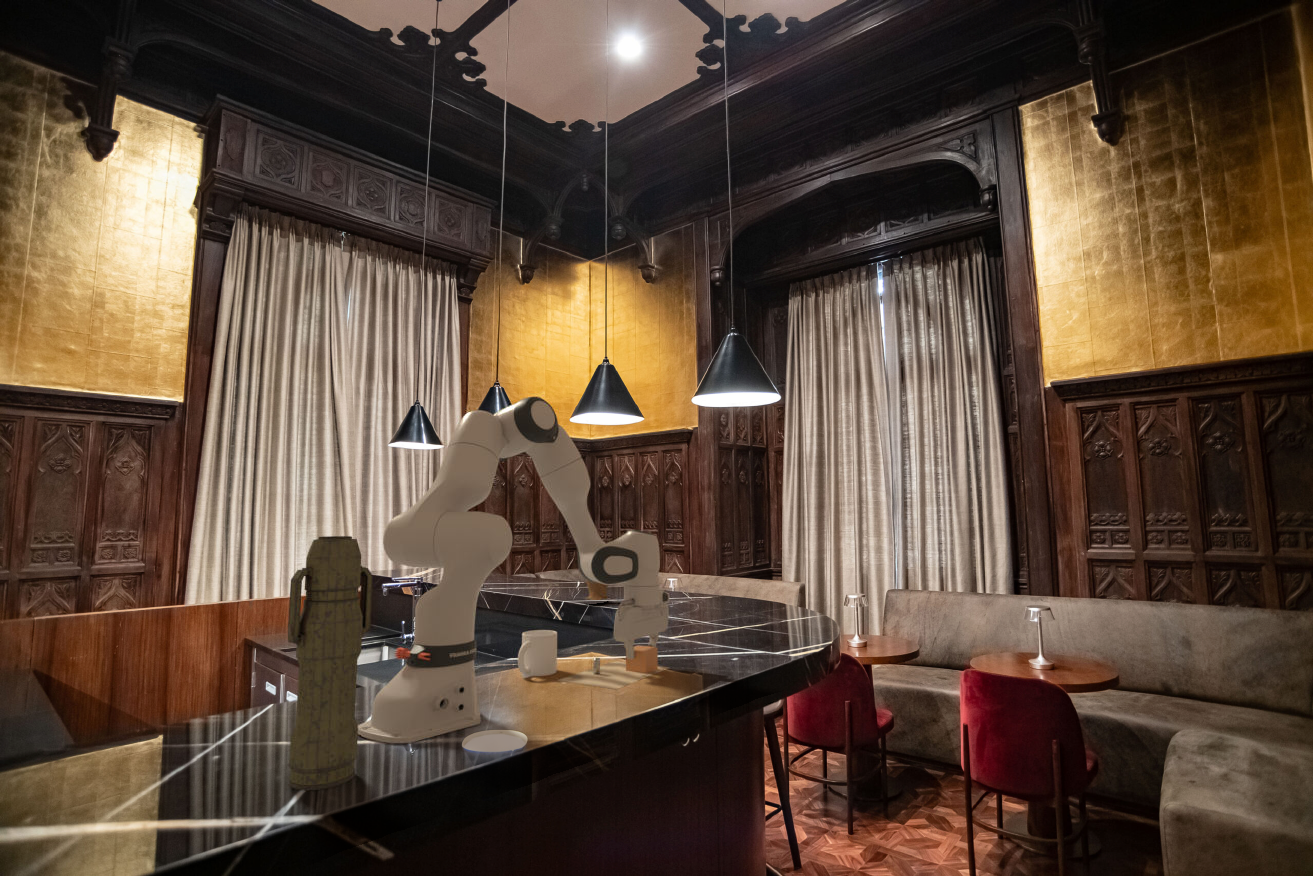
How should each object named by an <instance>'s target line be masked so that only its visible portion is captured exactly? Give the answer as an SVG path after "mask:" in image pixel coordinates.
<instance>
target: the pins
mask: <svg viewBox="0 0 1313 876" xmlns="http://www.w3.org/2000/svg"><path fill="white" fill-rule="evenodd" d="M592 662H593V663H592V669H593V674H600V666H601V657H593V661H592Z"/></svg>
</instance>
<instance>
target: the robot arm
mask: <svg viewBox="0 0 1313 876" xmlns="http://www.w3.org/2000/svg"><path fill="white" fill-rule="evenodd" d="M523 453H525V454H527V455H528V456H529V458H531V460H532V461H533V464H534V465H533V466H534V468H535V469H536V472H537V474H538V476H539V479H540V480H541V483H542V485H543V486H544V488H545V490H546V491H547V493H548V495H549V496H550V498H551V500H552V501H553V503H554V504H555V505H556V507H557V509H558V510H559V512H560V513H561V515H562V518H563V519H564V522H565V524H566V525H567V529H568V530H569V533H570V535H571V537H572V540H573V541H574V544H575V547H576V554H577V555H576V556H577V567H578V571H579V572H580V574H581V576H582V577H583V578H584V579H585V581H586V580H588V581H590V582H593V583H601V584H605V585H608V586H611V585H616V584H618V583H623V600H622V601H620V604H619V605H618V606H617V610H616V611H615V615H614V625H613V638H614V640H615V641H616V642H623V646H624V648H625V652H626V651H627V659H634V658H636V651H634V645H635V640H638V639H642V638H644V637H648V638H649V642H648V644H646V646H649V647H657V644H658V641H659V636H660V633H662V632H666V631H667V629H668V626H669V613H670V611H669V609H670V608H669V604H668V603H669V602H670V593H668V592H667V591H664V590H663V589H662V588H661V583H660V577H659V571H660V567H661V560H660V559H661V557H660V555H661V554H660V546H659V544H660V543H659V540H658V537H657V536H656V535H655V534H654V533H652V532H649V531H644V530H637V529H630V530H627V532H626V533H625V534H623V535H621V536H620V537H618V538H616V539H614V540H612V541H609V542H607V543H606V542H605V541H604V540H603V539H602V538H601V536H600V534H599V533H598V530H597V528H596V525H595V523H594V521H593V519H592V516H591V514H590V511H589V508H588V495H589V491H590V489H591V480H590V475H589V472H588V469H587V467H586V464H585V462H584V460H583V458H582V454H581V453H580V451H579V449H578V448H577V446H576V444H575V443H574V441H573V440H572V438H571V437H570V434H568V432H567V430H565V428H564V427H563V426H561V424H559V422H558V416H557V414H556V412H555V410H554V407H552V405H551V404H550V403H549V402H547V401H546V400H545V399H543V398H541V397H540V396H529V397H524V398H522V399H520V400H518V402H515V403H513V404H510V405H507V407H503V408H502V409H500V410H497V412H495V413H494V414H493V413H491V412H489V411H486V410H480V409H479V410H478V409H477V410H471V411H469V412H467V413H466V414H463V417H461V419H460V420H459V422H458V424H457V425H456V427H455V429H454V431H453V433H452V435H451V437H450V439H449V442H448V444H447V448H446V451H445V454H444V457H443V460H442V462H441V464H440V467H439V470H438V472H437V475H436V477H435V480H434V481H433V483H432V485H430V487H429V488H428V490H427V491H426V492H425V493H424V495H422V496H421V498H420V499H419V500H418V501H417V502H416V503H414V504H413V505H412V506H411V507H409V508H408V509H407V510H404V511H403V512H402V513H400V514H398V515H396V516H394V517H393V518H392V519H391V520H390V521H389V522H388V524H387V526H386V528H385V529H384V533H383V537H382V543H383V549H384V552H385V555H386V556H387V557H388V559H389V560H390V561H391V562H393V563H395V564H399V565H403V566H406V567H411V568H422V569H423V568H425V569H426V568H427V569H428V568H429V569H430V568H432V569H435V568H436V569H437V568H438V569H439V568H440V569H443V573H442V577H441V580H440V582H439V583H438V585H437V586H435V587H433V588H431V589H429V590H427V591H426V592H424V593H423V594H422V595H421V596H420V597H419V599H418V601H417V602H416V605H415V611H414V612H415V613H414V615H415V616H414V617H415V619H414V639H413V642H412V643H411V645H410V648H408V647H406V648H404V647H397V648H396V650H395V651H394V657H395V658H396V659H399V660H405V661H404V663H405V664H404V666H403V668H402V669H401V670H399V672H397V674H395V676H394V677H392V679H391V680H390V681H388V683H387V684H386V685H385V686H384V687H383V688H381V690H380V691H378V692H377V694H376V696H375V698H374V700H373V705H372V711H371V715H370V720H368V721H365V722H363V723H360V724H357V725H358V736H360V735H361V737H363V738H366V739H369V740H372V741H377V742H381V743H382V742H384V743H393V744H409V743H414V742H417V741H421V740H426V739H429V738H433V737H436V736H440V735H444V734H447V733H451V732H454V731H458V730H462V729H465V728H470V727H473V726H477V725H480V724H481V723H482V719H481V714H482V713H481V708H480V705H479V699H478V688H477V678H476V672H475V659H476V658H477V648H478V647H477V640H476V638H475V627H476V626H475V624H476V611H477V610H476V609H477V604H478V603H477V602H478V598H479V596H480V595H479V594H480V591H481V589H482V588H483V584H484V583H485V581H486V579H487V578H488V577H489V576H490V574H491V573H492V572H493V571H494V570H495V569H496V568H497V567H498V566H500V565H501V564H502V563H503V562H504V561H505V560H506V559H507V558H508V556H509V554H510V552H511V549H512V545H513V533H512V529H511V526H510V524H509V522H508V521H507V520H506V519H505V518H504V517H503V516H502V515H498V514H493V513H489V512H483V511H469V510H470V509H472V508H474V507H476V506H478V505H480V504H481V503H483V502H484V501H486V499H488V497H489V495H490V494H491V491H492V489H493V488H492V487H493V484H494V481H495V478H496V473H497V470H498V466H499V462H500V461H501V462H502V461H505V460H509V459H511V458H512V457H515V456H518V455H519V454H523Z"/></svg>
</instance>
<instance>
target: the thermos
mask: <svg viewBox="0 0 1313 876" xmlns="http://www.w3.org/2000/svg"><path fill="white" fill-rule="evenodd" d="M359 545H360V544H359V543H358V539H357V538H353V536H350V535H349V536H348V535H345V536H344V535H342V536H341V535H340V536H338V535H334V536H325V535H324V536H318V539H313V540H312V541H311V544H310V547H309V550H308V553H307V555H306V558H305V567H302V568H301V569H297V570H296V572H295V573H294V574H293V576H292V577H291V579H290V586H289V587H290V588H289V589H290V590H289V603H288V605H289V606H288V622H287V638H288V639H287V641H288V643H290V644H294V645H296V654H295V657H296V660H297V662H298V679H297V681H298V682H297V693H296V694H297V696H296V697H297V699H296V711H295V712H296V714H295V725H294V728H293V730H292V733H291V736H290V745H289V763H288V767H289V768H290V774H289V775H290V777H289V782H288V783H289V786H290V787H291V788H292V789H294V790H298V791H299V790H300V791H319V790H326V789H330V788H335V787H338V786H340V785H342V784H345V783H347V782H349V781H351V780H353V778H354V777H355V776H356V775H355V773H356V768H355V763H356V758H357V757H358V736H359V734H358V725H359V724H358V723H357V719H356V717H355V716H356V715H355V714H356V697H357V676H358V675H357V674H358V659H359V657H360V656H361V654H362V641H363V637H364V636H365V634H366V633H367V632H368V631H369V630H370V629H371V616H372V614H371V613H372V597H373V596H372V595H373V594H372V593H373V576H374V575H373V574H372V573H371V571H370V569H369V568H368V567H365V566H362V553H361V548H360V546H359ZM303 579H304V591H305V599H303V608H302V610H301V605H302V604H301V603H302V588H303V585H302V584H303ZM359 589H360V595H359Z"/></svg>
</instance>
